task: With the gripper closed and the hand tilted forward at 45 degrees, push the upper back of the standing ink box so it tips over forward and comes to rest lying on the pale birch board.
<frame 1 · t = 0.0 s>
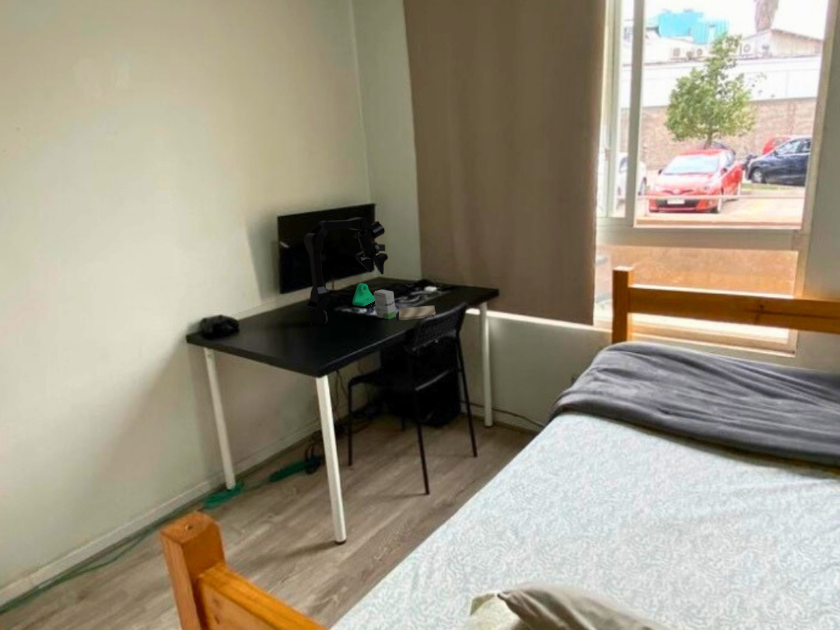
hand: (376, 273, 267), 15 cm above the table, tool pointing down, fingers open, 9 cm apart
birch board: (417, 314, 250), on the table
ink box: (386, 317, 251), on the table
camera mount: (367, 304, 275), on the table
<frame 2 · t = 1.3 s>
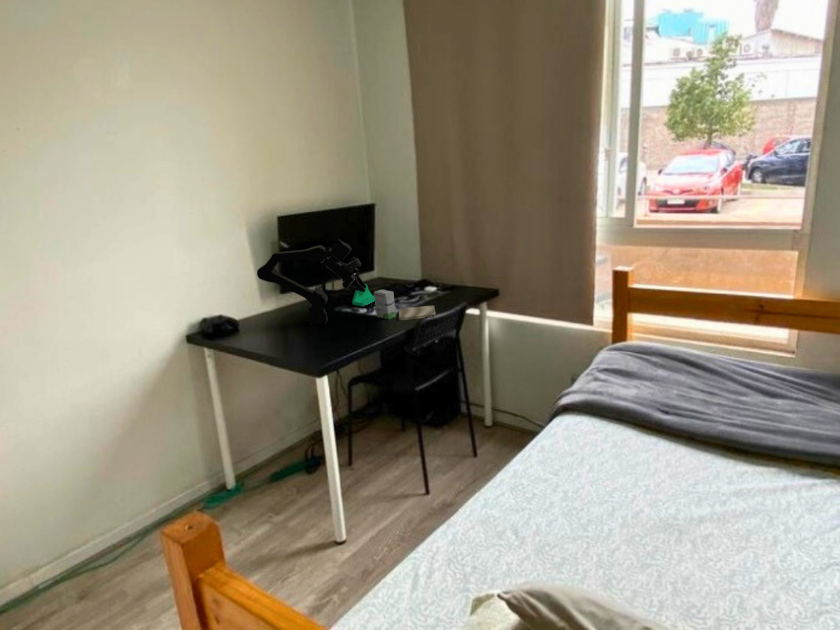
hand: (365, 289, 247), 13 cm above the table, tool tilted 45°, fingers open, 7 cm apart
nothing on the table moved.
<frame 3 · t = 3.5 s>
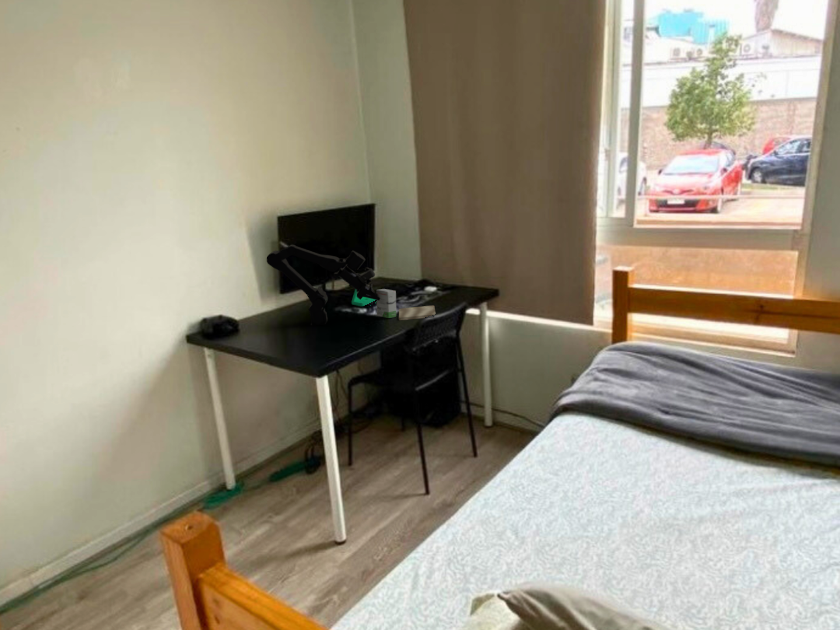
hand: (379, 299, 248), 8 cm above the table, tool tilted 45°, fingers closed
ink box: (386, 316, 251), on the table, touching gripper
everything else where it was.
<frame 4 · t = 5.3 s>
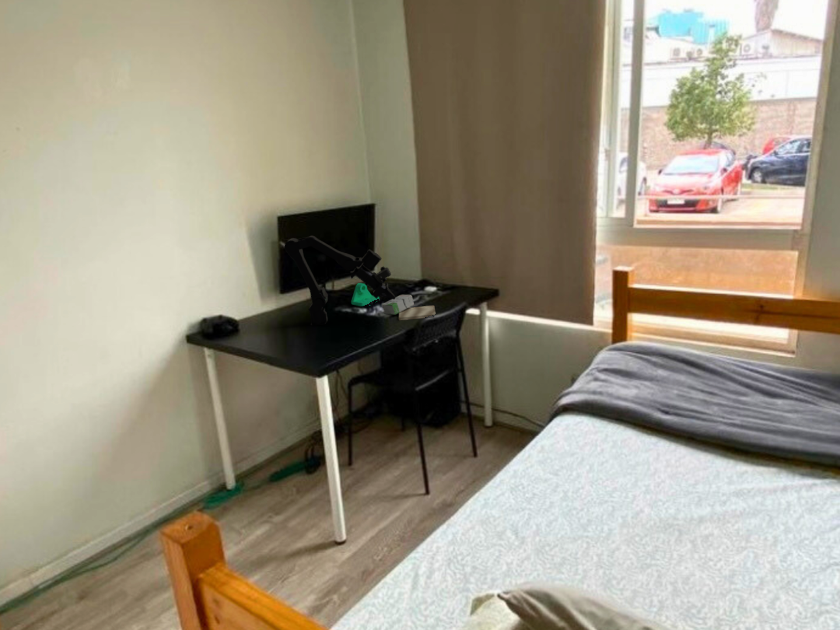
hand: (394, 298, 248), 8 cm above the table, tool tilted 45°, fingers closed
ink box: (387, 309, 251), point 3 cm above the table, touching birch board
everything else where it was.
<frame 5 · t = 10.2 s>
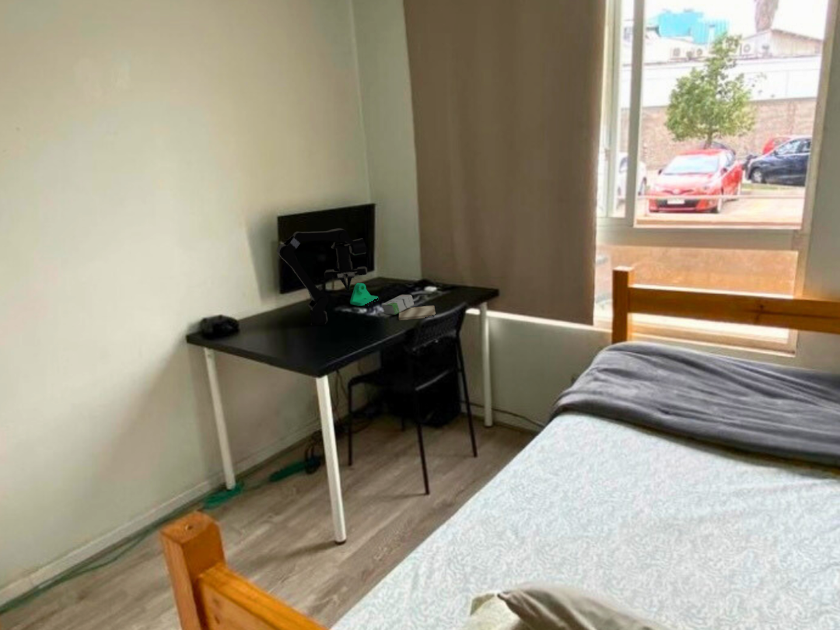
hand: (348, 291, 253), 12 cm above the table, tool pointing down, fingers closed
at the end: ink box tilted 81°; ink box inside the target area (12.0 cm from its centre), point 2.8 cm above the table; ink box touching birch board, table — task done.
